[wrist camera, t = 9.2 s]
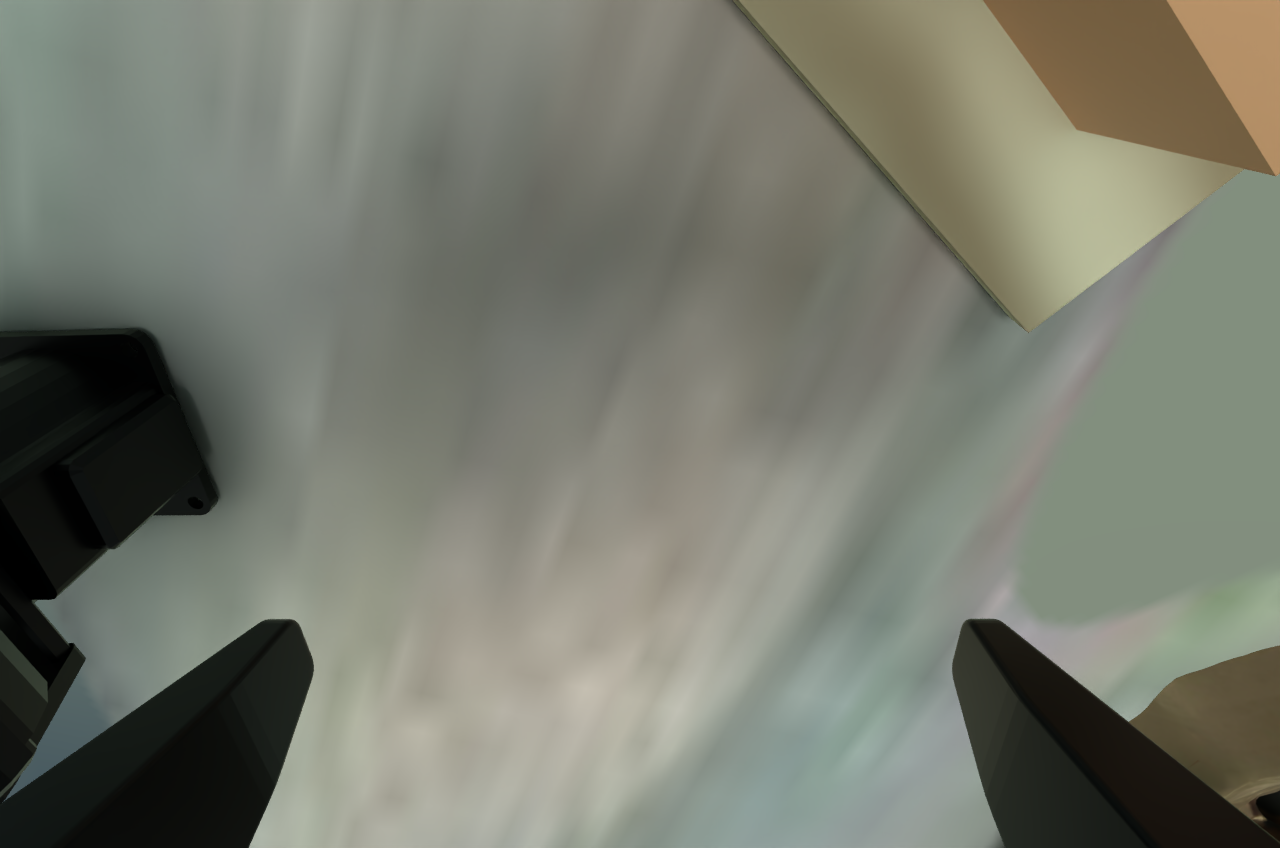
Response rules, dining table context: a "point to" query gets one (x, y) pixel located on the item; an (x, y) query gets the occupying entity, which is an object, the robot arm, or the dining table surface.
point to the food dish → (1226, 731)
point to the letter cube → (1160, 71)
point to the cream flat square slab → (984, 144)
